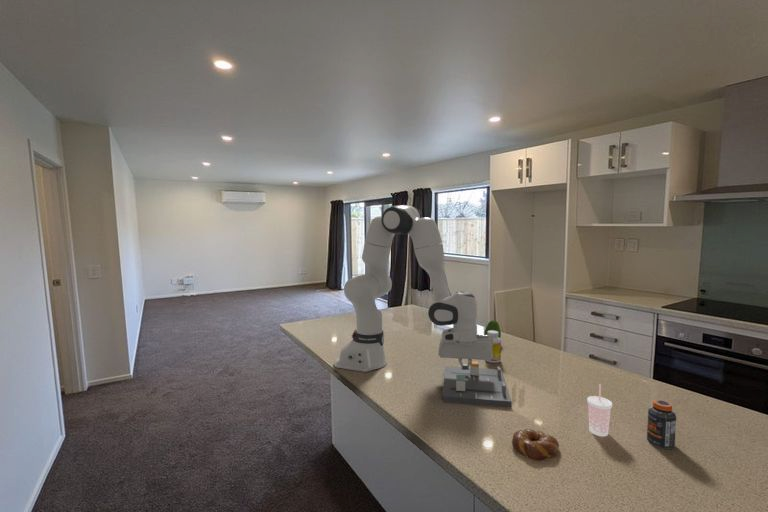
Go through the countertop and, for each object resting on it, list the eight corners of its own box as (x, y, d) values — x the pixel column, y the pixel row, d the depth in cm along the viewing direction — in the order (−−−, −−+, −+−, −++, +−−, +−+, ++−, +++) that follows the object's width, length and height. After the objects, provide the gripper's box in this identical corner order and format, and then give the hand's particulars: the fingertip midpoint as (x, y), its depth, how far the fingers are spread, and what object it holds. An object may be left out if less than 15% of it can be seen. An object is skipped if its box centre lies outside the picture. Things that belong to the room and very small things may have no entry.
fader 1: (456, 390, 122) (456, 379, 122) (456, 385, 126) (456, 374, 126) (465, 391, 122) (465, 379, 122) (464, 386, 126) (465, 375, 125)
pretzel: (547, 436, 100) (547, 423, 99) (568, 461, 89) (569, 447, 88) (504, 437, 99) (505, 424, 99) (520, 463, 88) (521, 449, 88)
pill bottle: (641, 437, 98) (642, 397, 97) (661, 436, 99) (663, 396, 98) (659, 450, 92) (661, 408, 91) (681, 449, 93) (683, 407, 92)
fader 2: (470, 375, 135) (470, 364, 135) (470, 370, 139) (470, 360, 139) (478, 375, 134) (478, 365, 134) (478, 371, 138) (478, 361, 138)
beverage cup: (601, 440, 97) (603, 390, 96) (581, 428, 103) (582, 381, 102) (616, 434, 99) (618, 386, 98) (595, 423, 105) (597, 377, 104)
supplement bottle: (501, 364, 152) (501, 334, 151) (485, 363, 153) (485, 333, 152) (499, 358, 158) (500, 329, 157) (484, 357, 160) (484, 329, 159)
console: (442, 401, 120) (442, 387, 119) (445, 371, 145) (445, 359, 145) (511, 407, 115) (511, 392, 115) (501, 374, 141) (501, 362, 140)
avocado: (504, 344, 177) (504, 320, 176) (493, 347, 172) (493, 323, 171) (491, 340, 183) (491, 317, 182) (480, 343, 179) (480, 319, 178)
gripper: (492, 332, 137) (492, 367, 138) (438, 330, 141) (439, 364, 142) (494, 337, 131) (494, 374, 132) (438, 335, 135) (438, 370, 136)
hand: (465, 369), depth 137 cm, fingers closed
